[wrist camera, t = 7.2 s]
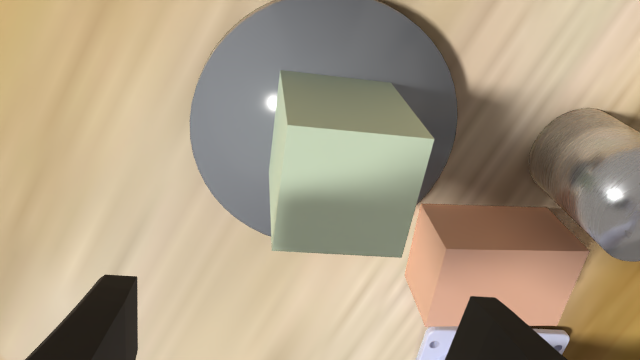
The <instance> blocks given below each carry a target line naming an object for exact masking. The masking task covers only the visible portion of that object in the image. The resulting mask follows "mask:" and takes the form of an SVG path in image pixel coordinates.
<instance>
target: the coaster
mask: <svg viewBox="0 0 640 360" xmlns="http://www.w3.org/2000/svg"><path fill="white" fill-rule="evenodd" d="M280 70H284V71H293V72H302V73H310V74H319V75H328V76H337V77H345V78H354V79H363V80H371V81H380V82H389V83H392V85H393V86H394V87H395V89H396V90H397V91H398V92H399V94H400V95H401V96H402V98H403V99H404V100H405V102H406V103H407V104H408V105H409V107H410V108H411V109H412V111H413V112H414V113H415V114H416V116H417V117H418V118H419V120H420V121H421V122H422V124H423V125H424V126H425V127H426V129H427V130H428V131H429V133H430V134H431V135H432V137H433V138H434V143H433V146H432V150H431V154H430V157H429V161H428V164H427V168H426V171H425V175H424V179H423V182H422V186H421V189H420V193H419V197H418V200H417V204H418V203H419V202H420V201H421V200H422V199H423V198H424V196H425V195H426V194H427V193H428V192H429V191H430V189H431V188H432V187H433V185H434V184H435V182H436V181H437V179H438V178H439V176H440V174H441V173H442V171H443V169H444V167H445V165H446V163H447V160H448V158H449V155H450V153H451V150H452V147H453V142H454V138H455V134H456V126H457V99H456V93H455V87H454V83H453V80H452V77H451V74H450V71H449V68H448V66H447V64H446V62H445V60H444V58H443V56H442V54H441V53H440V52H439V50H438V49H437V47H436V46H435V44H434V43H433V42H432V40H431V39H430V38H429V37H428V36H427V35H426V34H425V33H424V32H423V31H422V30H421V28H420V27H418V26H417V25H416V24H415V23H413V22H412V21H411V20H409V19H408V18H407V17H406V16H404V15H403V14H401V13H400V12H399V11H397V10H395V9H394V8H392V7H390V6H388V5H387V4H385V3H383V2H381V1H378V0H273V1H271V2H269V3H267V4H265V5H263V6H261V7H259V8H257V9H256V10H254V11H253V12H251V13H250V14H248V15H247V16H246V17H244V18H243V19H241V20H240V21H239V22H238V23H237V24H236V25H235V26H233V27H232V28H231V29H230V30H229V31H228V32H227V33H226V34H225V35H224V37H223V38H222V39H221V40H220V42H219V43H218V44H217V45H216V47H215V48H214V50H213V51H212V53H211V55H210V56H209V58H208V60H207V61H206V63H205V66H204V68H203V70H202V73H201V75H200V78H199V80H198V83H197V86H196V89H195V93H194V97H193V101H192V106H191V115H190V139H191V144H192V150H193V155H194V158H195V161H196V164H197V167H198V170H199V172H200V174H201V176H202V178H203V180H204V182H205V184H206V185H207V187H208V188H209V190H210V191H211V193H212V194H213V196H214V197H215V198H216V199H217V200H218V201H219V203H220V204H221V205H222V206H223V207H224V208H225V209H226V210H227V211H228V212H230V213H231V214H232V215H233V216H234V217H235V218H237V219H238V220H240V221H241V222H243V223H244V224H246V225H247V226H249V227H251V228H253V229H255V230H257V231H259V232H261V233H263V234H265V235H268V236H271V216H270V191H269V165H270V156H271V147H272V138H273V129H274V120H275V111H276V102H277V93H278V84H279V75H280ZM417 204H416V205H417Z"/></svg>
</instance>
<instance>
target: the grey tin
mask: <svg viewBox="0 0 640 360" xmlns="http://www.w3.org/2000/svg"><path fill="white" fill-rule="evenodd" d="M529 170H530V174H531V176H532V178H533V180H534V181H535V182H536V183H537V184H538V185H539V186H540V187H541V188H542V189H543V190H544V191H545V192H546V193H547V194H548V195H549V196H550V197H551V198H552V199H553V200H554V201H555V202H556V203H557V204H558V205H559V206H560V207H561V208H562V209H563V210H564V211H565V212H566V213H567V214H568V215H569V216H570V217H571V218H572V219H573V220H574V221H576V222H577V223H578V224H579V225H580V226H581V227H582V228H583V229H584V230H585V231H586V232H587V233H588V234H589V235H590V236H591V237H592V238H593V239H594V240H595V241H596V242H597V243H598V244H599V245H600V246H601V247H602V248H603V249H604V250H605V251H606V252H607V253H608V254H610V255H611V256H612V257H615V258H617V259H620V260H623V261H640V132H638V131H636V130H635V129H633V128H631V127H629V126H628V125H626V124H624V123H623V122H621V121H619V120H617V119H616V118H614V117H612V116H611V115H609V114H607V113H605V112H604V111H601V110H598V109H594V108H582V109H576V110H573V111H570V112H567V113H565V114H563V115H561V116H559V117H558V118H556V119H555V120H553V121H552V122H551V123H549V124H548V125H547V126H546V127H545V128H544V129H543V130H542V131H541V133H540V134H539V135H538V137H537V138H536V140H535V142H534V144H533V146H532V148H531V151H530V155H529Z"/></svg>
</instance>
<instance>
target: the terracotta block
mask: <svg viewBox="0 0 640 360" xmlns="http://www.w3.org/2000/svg"><path fill="white" fill-rule="evenodd" d="M589 252H590V251H589V250H588V249H587V248H586V247H585V246H584V245H583V244H582V243H581V242H580V241H579V240H578V239H577V238H576V237H575V236H574V235H573V234H572V233H571V232H570V231H569V230H568V229H567V228H566V227H565V226H564V225H563V224H562V222H561V221H560V220H559V219H558V218H557V217H556V216H555V215H554V214H553V213H552V212H551V211H550V210H549V209H548V208H547V207H514V206H481V205H448V204H421V206H420V210H419V215H418V219H417V223H416V228H415V232H414V236H413V241H412V245H411V249H410V254H409V258H408V262H407V267H406V271H405V278H406V280H407V283H408V285H409V287H410V290H411V292H412V295H413V297H414V300H415V302H416V305H417V307H418V310H419V312H420V315H421V317H422V320H423V322H424V325H425V327H444V326H459V323H460V321H461V318H462V316H463V314H464V311H465V309H466V306H467V304H468V301H469V299H470V296H479V297H495V298H497V299H498V300H499V301H501V302H502V303H503V304H504V305H506V306H507V307H508V308H509V309H510V310H511V311H513V312H514V313H515V314H516V315H517V316H518V317H520V318H521V319H522V320H523V321H524V322H525V323H526V324H528V325H529V326H557V324H558V322H559V320H560V317H561V315H562V313H563V311H564V308H565V306H566V304H567V302H568V299H569V297H570V295H571V293H572V290H573V288H574V286H575V284H576V281H577V279H578V277H579V274H580V272H581V270H582V268H583V265H584V263H585V261H586V259H587V256H588V254H589Z"/></svg>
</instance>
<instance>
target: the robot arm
mask: <svg viewBox="0 0 640 360" xmlns="http://www.w3.org/2000/svg"><path fill="white" fill-rule="evenodd" d="M569 340H570V338H569V335H568V334H567V333H566V332H565V331H564V330H550V329H532V328H531V327H530V326H529V325H528V324H526V323H525V322H524V321H523V320H522V319H521V318H520V317H518V316H517V315H516V314H515V313H514V312H513V311H511V310H510V309H509V308H508V307H507V306H506V305H504V304H503V303H502V302H501V301H499V300H498V299H497V298H495V297H479V296H470V299H469V301H468V304H467V306H466V309H465V311H464V314H463V316H462V318H461V321H460V323H459V326H444V327H429V328H428V329H427V331H426V332H425V335H424V338H423V341H422V344H421V347H420V349H419V352H418V355H417V358H416V360H567V359H566V358H565V357H564V356H562V353H563V352H564V350H565V348H566V346H567V344H568V342H569ZM433 341H434V342H433ZM137 350H138V338H137V277H135V276H118V275H104V276H103V277H101V278H100V279H99V280H98V281H97V282H96V284H95V285H94V286H93V287H92V288H91V289H90V291H89V292H88V293H87V294H86V295H85V296H84V298H83V299H82V300H81V301H80V302H79V303H78V304H77V306H76V307H75V308H74V309H73V310H72V311H71V312H70V313H69V314H68V316H67V317H66V318H65V319H64V320H63V321H62V322H61V323H60V324H59V325H58V326H57V327H56V329H55V330H54V331H53V332H52V333H51V334H50V335H49V336H48V337H47V338H46V339H45V340H44V341H43V342H42V343H41V344H40V345H39V346H38V347H37V348H36V349H35V350H34V351H33V352H32V353H31V354H30V355H29V356H28V357H27V358H26V359H25V360H136V355H137Z"/></svg>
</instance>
